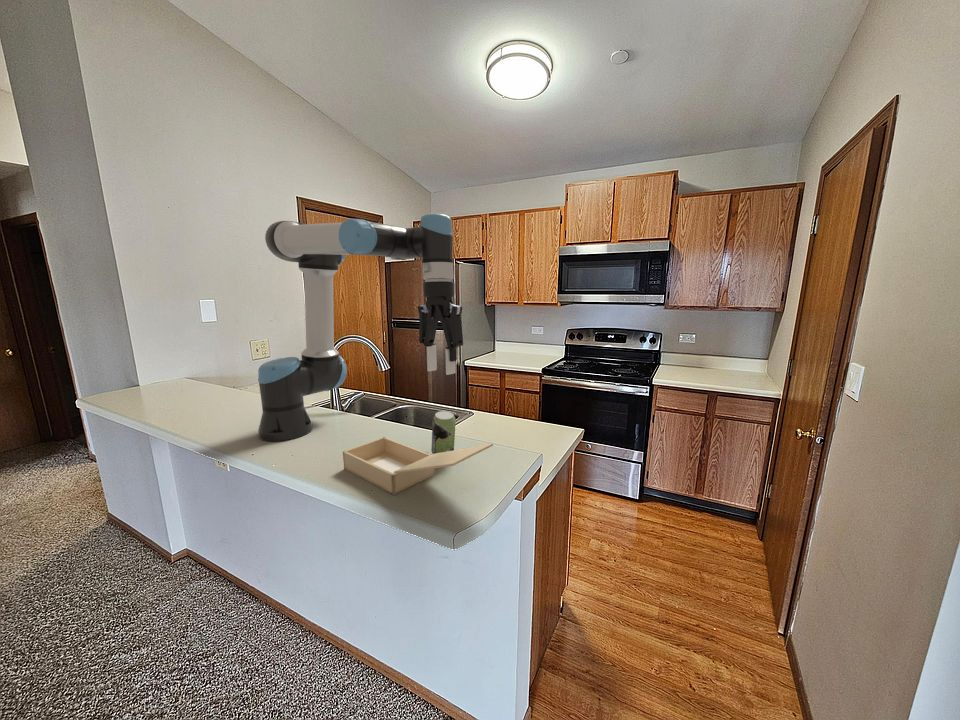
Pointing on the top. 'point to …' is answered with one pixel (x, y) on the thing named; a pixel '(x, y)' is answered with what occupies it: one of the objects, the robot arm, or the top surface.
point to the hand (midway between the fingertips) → (441, 372)
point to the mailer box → (386, 464)
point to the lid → (444, 459)
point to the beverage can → (443, 432)
